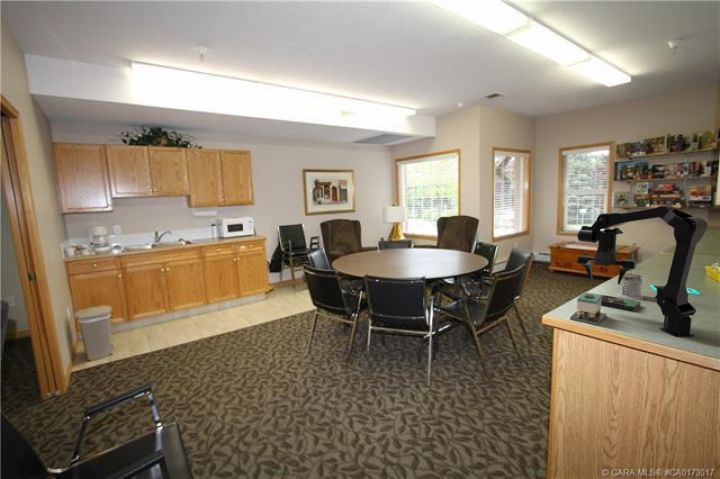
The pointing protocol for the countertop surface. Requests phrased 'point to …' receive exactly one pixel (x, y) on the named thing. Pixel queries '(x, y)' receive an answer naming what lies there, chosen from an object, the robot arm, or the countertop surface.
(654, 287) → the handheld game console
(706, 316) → the countertop surface
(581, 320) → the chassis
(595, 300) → the board
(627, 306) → the disk drive
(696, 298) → the countertop surface
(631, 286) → the french press
